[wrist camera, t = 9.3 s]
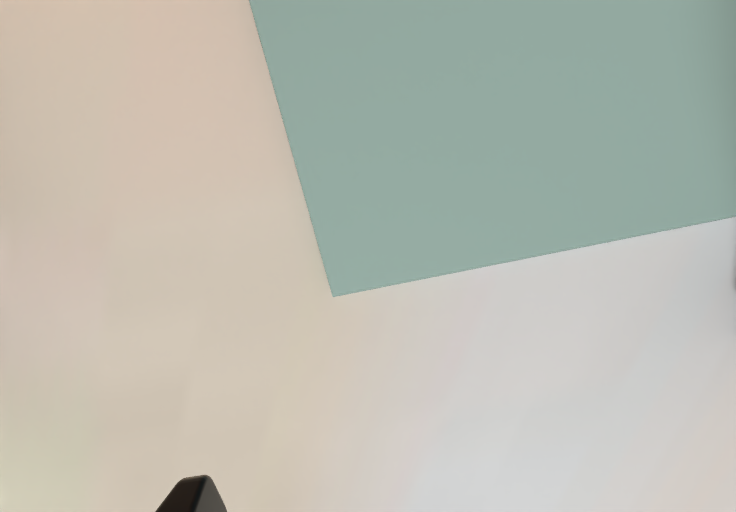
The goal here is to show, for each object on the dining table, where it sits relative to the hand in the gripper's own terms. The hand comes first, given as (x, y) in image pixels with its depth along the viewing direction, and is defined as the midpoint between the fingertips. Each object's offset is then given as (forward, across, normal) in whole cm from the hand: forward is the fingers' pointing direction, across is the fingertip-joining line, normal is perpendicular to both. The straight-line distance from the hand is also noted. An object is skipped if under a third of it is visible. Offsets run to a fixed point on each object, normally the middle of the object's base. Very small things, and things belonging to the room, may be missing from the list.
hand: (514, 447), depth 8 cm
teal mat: (+13, -3, -2) cm, 13 cm away
